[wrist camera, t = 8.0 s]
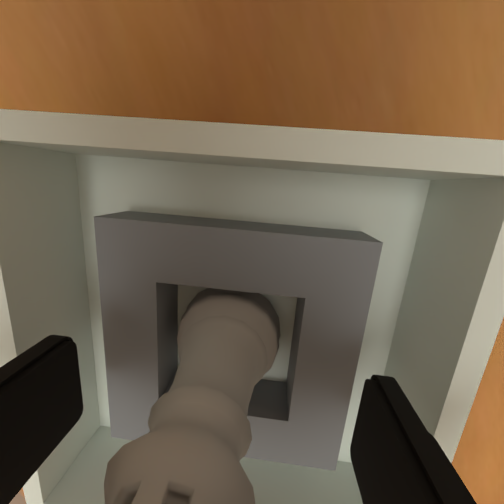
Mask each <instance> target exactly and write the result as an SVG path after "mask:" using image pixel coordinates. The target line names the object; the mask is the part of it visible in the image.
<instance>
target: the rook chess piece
mask: <svg viewBox="0 0 504 504" xmlns="http://www.w3.org/2000/svg"><path fill="white" fill-rule="evenodd" d="M280 336H281V334H280V323H279V317H278V315H277V313H276V311H275V310H274V308H273V306H272V304H271V303H270V301H269V300H267V299H266V298H265V297H264V296H262V295H261V294H260V293H251V292H242V291H233V290H223V289H214V288H207V289H205V290H203V291H201V292H199V293H198V294H197V295H196V296H195V297H194V299H193V300H192V301H191V302H190V304H189V305H188V306H187V309H186V312H185V313H184V314H183V316H182V318H181V322H180V326H179V330H178V335H177V343H178V348H179V349H178V353H179V358H180V363H179V366H178V369H177V372H176V375H175V378H174V381H173V384H172V386H171V387H170V389H169V391H168V393H165V394H163V395H162V396H161V397H160V398H159V399H158V400H157V401H156V403H155V404H154V405H153V406H152V407H151V411H150V415H149V420H148V426H149V430H150V432H149V433H147V434H145V435H143V436H141V437H139V438H137V439H135V440H133V441H131V442H129V443H127V444H125V445H123V446H122V447H121V448H120V449H119V450H118V452H117V453H116V454H115V455H114V456H113V457H112V458H111V459H110V460H109V462H108V464H107V469H106V474H105V480H104V497H105V504H255V497H254V490H253V486H252V484H251V482H250V481H249V479H248V477H247V475H246V473H245V471H244V469H243V468H242V466H241V464H240V459H242V458H243V457H244V456H245V455H246V454H247V451H248V449H249V446H250V444H251V441H252V435H251V427H250V422H249V420H248V419H247V414H248V406H249V402H250V399H251V396H252V392H253V389H254V386H255V385H256V384H257V383H258V382H259V381H260V380H261V379H262V378H263V376H264V375H265V374H266V373H267V372H268V371H269V370H270V369H271V367H272V365H273V362H274V360H275V357H276V354H277V352H278V349H279V338H280Z"/></svg>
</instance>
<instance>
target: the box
mask: <svg viewBox="0 0 504 504" xmlns="http://www.w3.org/2000/svg"><path fill="white" fill-rule="evenodd" d="M207 288H214V289H223V290H233V291H242V292H251V293H260V294H261V295H262V296H264V297H265V298H266V299H267V300H269V301H270V303H271V304H272V306H273V308H274V310H275V311H276V313H277V315H278V317H279V323H280V334H281V336H280V338H279V349H278V352H277V354H276V357H275V360H274V362H273V365H272V367H271V369H270V370H269V371H268V372H267V373H266V374H265V375H264V376H263V378H262V379H261V380H260V381H259V382H258V383H257V384H256V385H255V386H254V389H253V392H252V396H251V399H250V402H249V406H248V414H247V419H248V420H249V422H250V427H251V435H252V441H251V444H250V446H249V449H248V451H247V454H246V455H245V456H244V457H243V458H242V459H240V464H241V466H242V468H243V469H244V471H245V473H246V475H247V477H248V479H249V481H250V482H251V484H252V486H253V490H254V497H255V504H363V502H362V498H361V494H360V491H359V487H358V483H357V480H356V476H355V472H354V469H353V465H352V461H351V456H350V446H351V441H352V436H353V432H354V427H355V423H356V418H357V414H358V409H359V405H360V400H361V396H362V391H363V387H364V382H365V380H366V379H371V376H372V375H382V376H390V377H394V378H395V379H396V381H397V382H398V384H399V386H400V387H401V389H402V390H403V392H404V394H405V395H406V397H407V398H408V400H409V402H410V403H411V405H412V407H413V408H414V410H415V411H416V413H417V415H418V416H419V418H420V419H421V421H422V423H423V424H424V426H425V428H426V429H427V431H428V432H429V433H430V434H432V435H433V437H434V438H435V439H436V440H437V442H438V443H439V445H440V447H441V448H442V450H443V451H444V453H445V455H446V456H447V458H448V459H449V461H450V462H451V463H452V460H453V457H454V454H455V452H456V449H457V446H458V443H459V440H460V438H461V435H462V432H463V429H464V426H465V424H466V421H467V418H468V415H469V412H470V410H471V407H472V404H473V401H474V398H475V396H476V393H477V390H478V387H479V384H480V382H481V379H482V376H483V373H484V370H485V368H486V365H487V362H488V359H489V356H490V354H491V351H492V348H493V345H494V342H495V339H496V337H497V334H498V331H499V328H500V325H501V323H502V320H503V317H504V140H491V139H475V138H459V137H443V136H427V135H411V134H395V133H379V132H363V131H347V130H331V129H315V128H299V127H282V126H266V125H250V124H234V123H218V122H202V121H186V120H170V119H154V118H138V117H122V116H106V115H90V114H74V113H58V112H42V111H26V110H9V109H0V367H2V366H3V365H5V364H6V363H8V362H9V361H11V360H12V359H14V358H15V357H17V356H18V355H20V354H21V353H23V352H24V351H26V350H27V349H29V348H30V347H32V346H33V345H35V344H37V343H38V342H40V341H41V340H43V339H44V338H46V337H47V336H49V335H61V336H69V337H71V338H72V339H73V342H75V343H76V345H77V353H78V362H79V371H80V380H81V389H82V398H83V413H82V415H81V417H80V419H79V420H78V422H77V423H76V424H75V425H74V427H73V428H72V429H71V430H70V431H69V433H68V434H67V435H66V436H65V437H64V438H63V440H62V441H61V442H60V443H59V444H58V446H57V447H56V448H55V449H54V450H53V452H52V453H51V454H50V455H49V456H48V457H47V459H46V460H45V461H44V462H43V463H42V465H41V466H40V467H39V468H38V469H37V471H36V472H35V473H34V474H33V475H32V476H31V478H30V479H29V480H28V481H27V482H26V484H25V485H24V486H23V490H24V495H25V500H26V504H105V497H104V480H105V474H106V469H107V464H108V462H109V460H110V459H111V458H112V457H113V456H114V455H115V454H116V453H117V452H118V450H119V449H120V448H121V447H122V446H123V445H125V444H127V443H129V442H131V441H133V440H135V439H137V438H139V437H141V436H143V435H145V434H147V433H149V432H150V430H149V426H148V420H149V415H150V411H151V407H152V406H153V405H154V404H155V403H156V401H157V400H158V399H159V398H160V397H161V396H162V395H163V394H165V393H168V391H169V389H170V387H171V386H172V384H173V381H174V378H175V375H176V372H177V369H178V366H179V363H180V358H179V353H178V349H179V348H178V343H177V335H178V330H179V326H180V322H181V318H182V316H183V314H184V313H185V312H186V309H187V306H188V305H189V304H190V302H191V301H192V300H193V299H194V297H195V296H196V295H197V294H198V293H199V292H201V291H203V290H205V289H207Z"/></svg>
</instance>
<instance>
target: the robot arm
mask: <svg viewBox="0 0 504 504" xmlns="http://www.w3.org/2000/svg"><path fill="white" fill-rule="evenodd" d="M82 413H83V398H82V389H81V380H80V371H79V362H78V353H77V345H76V343H75V342H73V339H72V338H71V337H69V336H61V335H49V336H47V337H46V338H44V339H43V340H41V341H40V342H38V343H37V344H35V345H33V346H32V347H30V348H29V349H27V350H26V351H24V352H23V353H21V354H20V355H18V356H17V357H15V358H14V359H12V360H11V361H9V362H8V363H6V364H5V365H3V366H2V367H0V504H9V503H10V501H11V500H12V499H13V498H14V497H15V495H16V494H17V493H18V492H19V491H20V490H21V488H22V487H23V486H24V485H25V484H26V482H27V481H28V480H29V479H30V478H31V476H32V475H33V474H34V473H35V472H36V471H37V469H38V468H39V467H40V466H41V465H42V463H43V462H44V461H45V460H46V459H47V457H48V456H49V455H50V454H51V453H52V452H53V450H54V449H55V448H56V447H57V446H58V444H59V443H60V442H61V441H62V440H63V438H64V437H65V436H66V435H67V434H68V433H69V431H70V430H71V429H72V428H73V427H74V425H75V424H76V423H77V422H78V420H79V419H80V417H81V415H82ZM350 456H351V461H352V465H353V469H354V472H355V476H356V480H357V483H358V487H359V491H360V494H361V498H362V502H363V504H476V502H475V501H474V499H473V497H472V496H471V494H470V493H469V491H468V489H467V488H466V486H465V485H464V483H463V481H462V480H461V478H460V477H459V475H458V474H457V472H456V470H455V469H454V467H453V466H452V464H451V462H450V461H449V459H448V458H447V456H446V455H445V453H444V451H443V450H442V448H441V447H440V445H439V443H438V442H437V440H436V439H435V438H434V437H433V435H432V434H430V433H429V432H428V431H427V429H426V428H425V426H424V424H423V423H422V421H421V419H420V418H419V416H418V415H417V413H416V411H415V410H414V408H413V407H412V405H411V403H410V402H409V400H408V398H407V397H406V395H405V394H404V392H403V390H402V389H401V387H400V386H399V384H398V382H397V381H396V379H395V378H394V377H390V376H382V375H372V376H371V379H366V380H365V382H364V387H363V391H362V396H361V400H360V405H359V409H358V414H357V418H356V423H355V427H354V432H353V436H352V441H351V446H350Z"/></svg>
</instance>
